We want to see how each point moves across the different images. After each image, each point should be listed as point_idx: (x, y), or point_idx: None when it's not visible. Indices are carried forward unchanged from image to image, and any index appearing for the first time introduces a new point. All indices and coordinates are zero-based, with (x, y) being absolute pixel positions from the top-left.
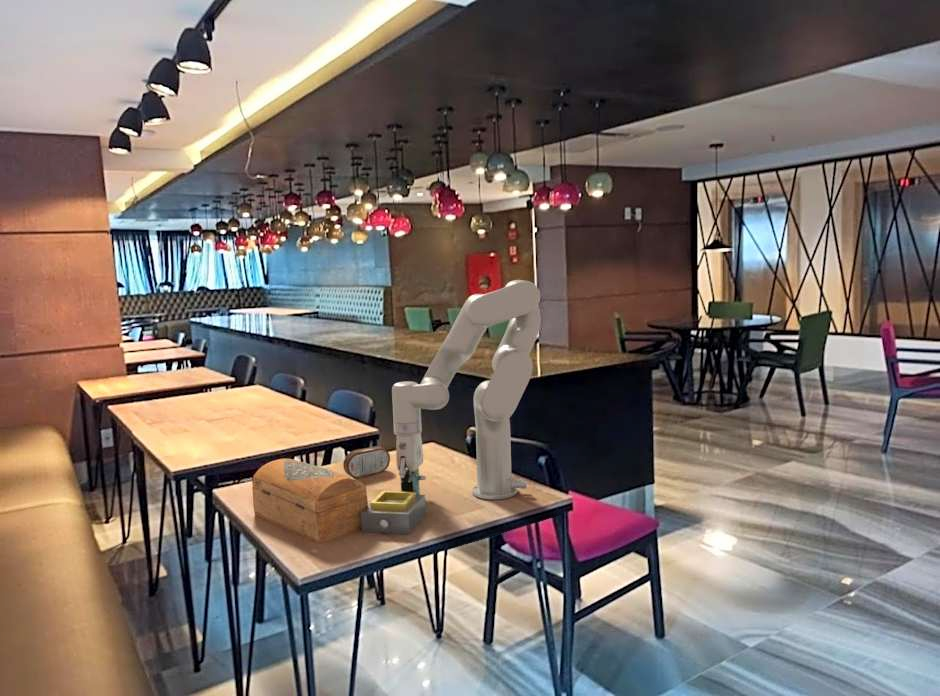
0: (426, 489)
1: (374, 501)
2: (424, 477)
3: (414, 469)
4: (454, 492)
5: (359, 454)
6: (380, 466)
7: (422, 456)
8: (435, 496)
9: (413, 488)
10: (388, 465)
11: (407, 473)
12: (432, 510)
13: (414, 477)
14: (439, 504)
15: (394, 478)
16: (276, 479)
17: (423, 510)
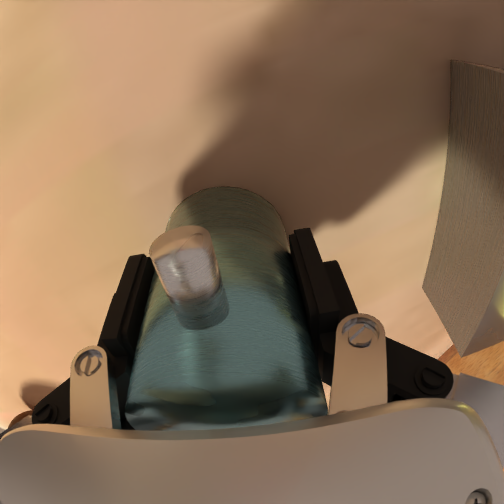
0: (39, 236)
1: None
2: (202, 249)
3: (456, 415)
4: (4, 49)
5: None
6: None
7: (9, 499)
8: (109, 116)
9: (282, 262)
10: (18, 415)
11: (313, 415)
12: (397, 24)
13: (284, 338)
14: (268, 6)
15: (45, 381)
16: None
17: (500, 70)
